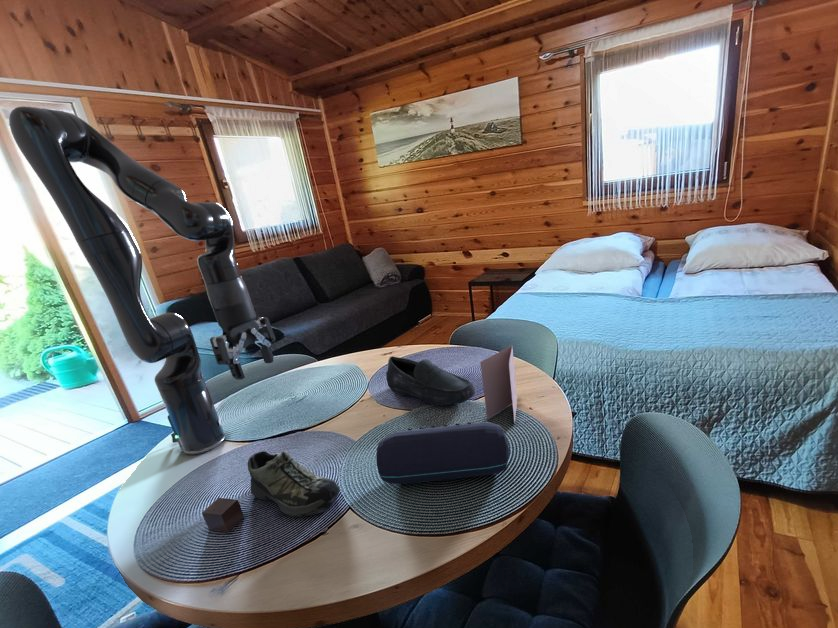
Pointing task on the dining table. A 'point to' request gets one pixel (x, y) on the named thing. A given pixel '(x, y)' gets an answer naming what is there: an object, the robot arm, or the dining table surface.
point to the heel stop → (223, 514)
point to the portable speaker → (442, 453)
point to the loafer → (427, 382)
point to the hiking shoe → (290, 484)
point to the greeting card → (499, 382)
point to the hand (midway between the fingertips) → (255, 370)
